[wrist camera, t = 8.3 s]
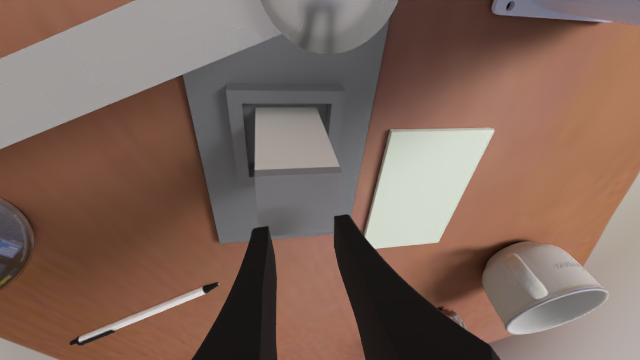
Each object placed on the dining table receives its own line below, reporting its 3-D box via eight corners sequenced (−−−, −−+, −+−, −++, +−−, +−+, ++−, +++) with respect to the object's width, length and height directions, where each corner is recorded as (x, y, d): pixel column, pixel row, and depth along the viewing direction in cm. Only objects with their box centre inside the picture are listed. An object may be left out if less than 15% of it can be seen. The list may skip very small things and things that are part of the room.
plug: (316, 107, 19) (342, 172, 13) (312, 157, 21) (333, 231, 15) (255, 107, 18) (254, 176, 12) (259, 159, 21) (259, 237, 15)
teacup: (550, 257, 39) (605, 313, 33) (476, 289, 41) (515, 347, 35) (546, 201, 31) (619, 261, 25) (455, 245, 33) (500, 311, 27)
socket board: (401, -62, 14) (603, -93, 6) (346, 229, 28) (385, 346, 19) (149, -92, 12) (-89, -206, 4) (220, 239, 26) (202, 376, 17)
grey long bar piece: (335, -8, 12) (415, 24, 6) (-52, 152, 14) (-313, 314, 7) (314, -98, 11) (397, -185, 4) (-133, 97, 12) (-572, 252, 6)
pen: (69, 337, 32) (64, 348, 31) (217, 277, 29) (216, 287, 29) (77, 340, 32) (72, 350, 31) (222, 281, 30) (221, 291, 29)
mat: (491, 127, 23) (494, 130, 23) (436, 239, 32) (438, 242, 31) (390, 129, 22) (392, 131, 21) (360, 246, 30) (361, 249, 30)
